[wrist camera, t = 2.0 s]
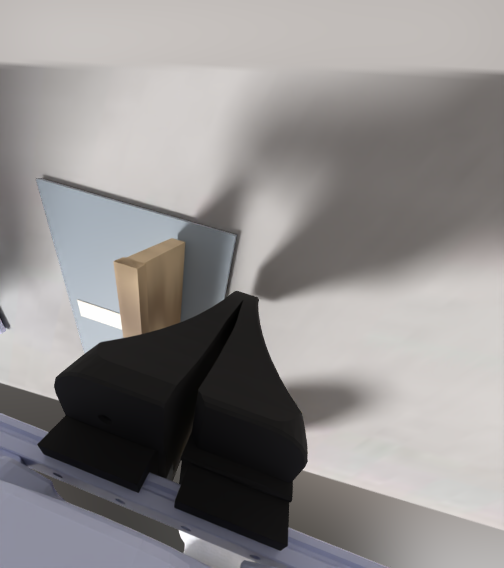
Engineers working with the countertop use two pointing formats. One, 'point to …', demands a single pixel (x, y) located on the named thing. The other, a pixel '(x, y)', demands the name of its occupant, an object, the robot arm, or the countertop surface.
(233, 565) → the supplement bottle
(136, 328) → the wooden flat block
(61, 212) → the card
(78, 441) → the robot arm
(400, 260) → the countertop surface
